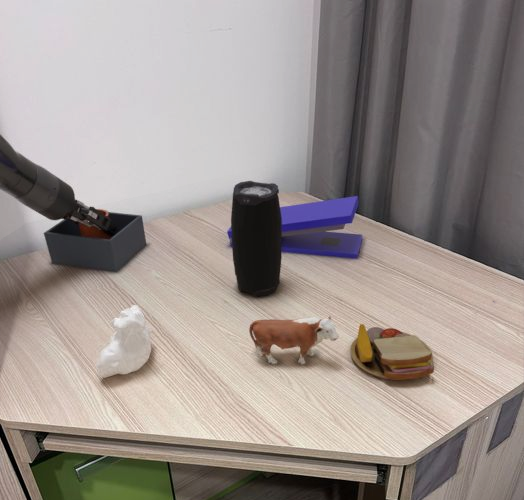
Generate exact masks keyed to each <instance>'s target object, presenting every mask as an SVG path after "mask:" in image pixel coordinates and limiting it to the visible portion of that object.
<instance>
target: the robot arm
mask: <svg viewBox="0 0 524 500" xmlns="http://www.w3.org/2000/svg"><path fill="white" fill-rule="evenodd" d="M0 191H3V192H4V193H6V194H8V195H10V196H11V197H13V198H14V199H15V200H17V201H18V202H19V203H21V204H22V205H24V206H25V207H27V208H29V209H31V210H32V211H34V212H36V213H38V214H39V215H41V216H43V217H44V218H46V219H48V220H50V221H59V220H67V221H69V222H74V223H76V224H77V225H78V222H79V223H81V224H83V225H85V226H87V227H91V226H93V227H95V228H97V229H98V230H100V231H103V232H104V233H106V234H108V235H109V236H112V237H113V236H114V235H115V233H116V230H117V227H116V226H114V225H113V224H111V219H110V218H109V217H107V216H105V215H104V214H102V213H101V212H100V211H98V210H97V209H98V208H95V207H94V206H88V205H86V204H85V203H84V202H82V201H80V200H78V199H76V195H75V191H74V189H73V187H72V186H71V185H70V184H68V183H67V182H65V181H64V180H62V179H61V178H60V177H58V176H57V175H56V174H54V173H52V172H50V170H47V168H44V167H43V166H41V165H39V164H36V163H35V162H33V160H31V159H29V157H26V156H25V155H23V154H22V153H20V152H18V151H17V150H15V148H14V147H13V146H12V145H11V143H10V142H9V141H8V140H7V139H6V138H5V137H4V136H3V135H2V133H0ZM85 219H87V220H88V222H85V221H84V220H85Z"/></svg>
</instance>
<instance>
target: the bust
mask: <svg viewBox="0 0 524 500" xmlns="http://www.w3.org/2000/svg"><path fill="white" fill-rule="evenodd" d="M146 319H147V318H146V317H145V315H144V313H143V311H142V309H141V308H140V307H139V305H137V304H133V305H131V306H130V307H127V308H126V309H123V310H121V311H120V312H119V315H118V317H114V318H112V320H110V322H109V325H110V327H112V328H113V329H115V332H113V334H112V335H111V337H110V340H109V342H108V345H107V346H105V347H104V348H103V349H102V350H101V351H100V353H99V355H98V358H97V359H98V360H97V363H96V371H97V373H98V375H99V376H100V377H101V378H109V377H112V376H115V375H127V374H130V373H134V372H136V371H138V370H140V369H141V368H142V367H143V366H144V365H145V364H146V362H148V361H149V357H150V356H151V352H152V340H151V338H152V337H151V335H152V332H153V330H152V328H151V327H150V326H149V324H148V323H147V320H146Z"/></svg>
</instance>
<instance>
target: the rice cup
mask: <svg viewBox="0 0 524 500" xmlns="http://www.w3.org/2000/svg"><path fill="white" fill-rule="evenodd" d="M96 209H97V210H98V211H100V212H101V213H102V214H104V215H105V216H107V217H109V213H108V212H109V211H108V210H107V209H101V208H96ZM84 221H85V222H88V220H87V219H85V220H84ZM78 226H79V230H80V234H81V236H84V237H92V238H101V239H109V240H110V239H111V238H112V236H109V235H108V234H106V233H104V232H103V231H100V230H98V229H97V228H95V227H93V226H91V227H87V226H85V225H83V224H81V223H79V222H78Z"/></svg>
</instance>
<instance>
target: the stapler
mask: <svg viewBox="0 0 524 500" xmlns="http://www.w3.org/2000/svg"><path fill="white" fill-rule="evenodd" d="M359 204H360V203H359V196H358V195H355V196H348V197H341V198H340V197H339V198H333V199H327V200H320V201H314V202H313V201H312V202H307V203H301V204H300V203H299V204H293V205H285V206H280V211H281V217H282V253H291V254H302V255H312V256H313V255H314V256H324V257H334V258H344V259H345V258H346V259H356V260H357V259H358V258H359V252H360V248H361V245H362V239H363V234H361V233H348V232H338V231H339V230H344V229H345V226H346V225H349V224H352V223H353V221H354V218H355V215H356V212H357V210H358V207H359ZM226 234H227V237H228V239H229V247H230V248H232V233H231V226H230V227H229V229H228V230H227V231H226Z"/></svg>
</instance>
